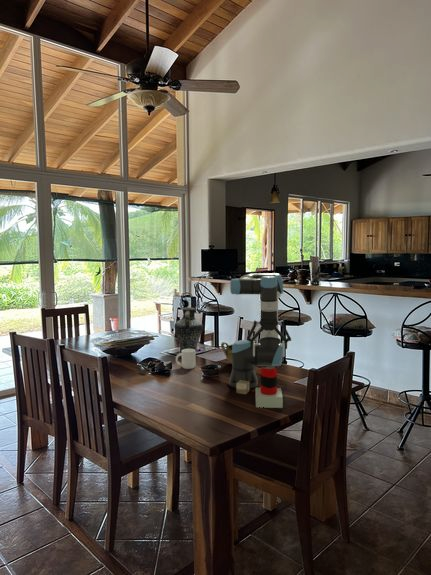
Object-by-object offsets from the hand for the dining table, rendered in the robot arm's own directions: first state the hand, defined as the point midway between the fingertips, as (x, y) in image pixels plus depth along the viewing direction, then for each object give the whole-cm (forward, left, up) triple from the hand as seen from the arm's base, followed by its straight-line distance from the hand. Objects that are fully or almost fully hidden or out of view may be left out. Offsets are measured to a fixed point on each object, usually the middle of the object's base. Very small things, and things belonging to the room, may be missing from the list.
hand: (268, 355), depth 197 cm
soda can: (0, 0, -18) cm, 18 cm away
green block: (0, 0, -22) cm, 22 cm away
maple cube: (-12, +14, -22) cm, 29 cm away
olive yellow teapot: (-15, +61, -23) cm, 67 cm away
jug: (-50, +91, -23) cm, 106 cm away
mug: (-47, +54, -23) cm, 75 cm away
